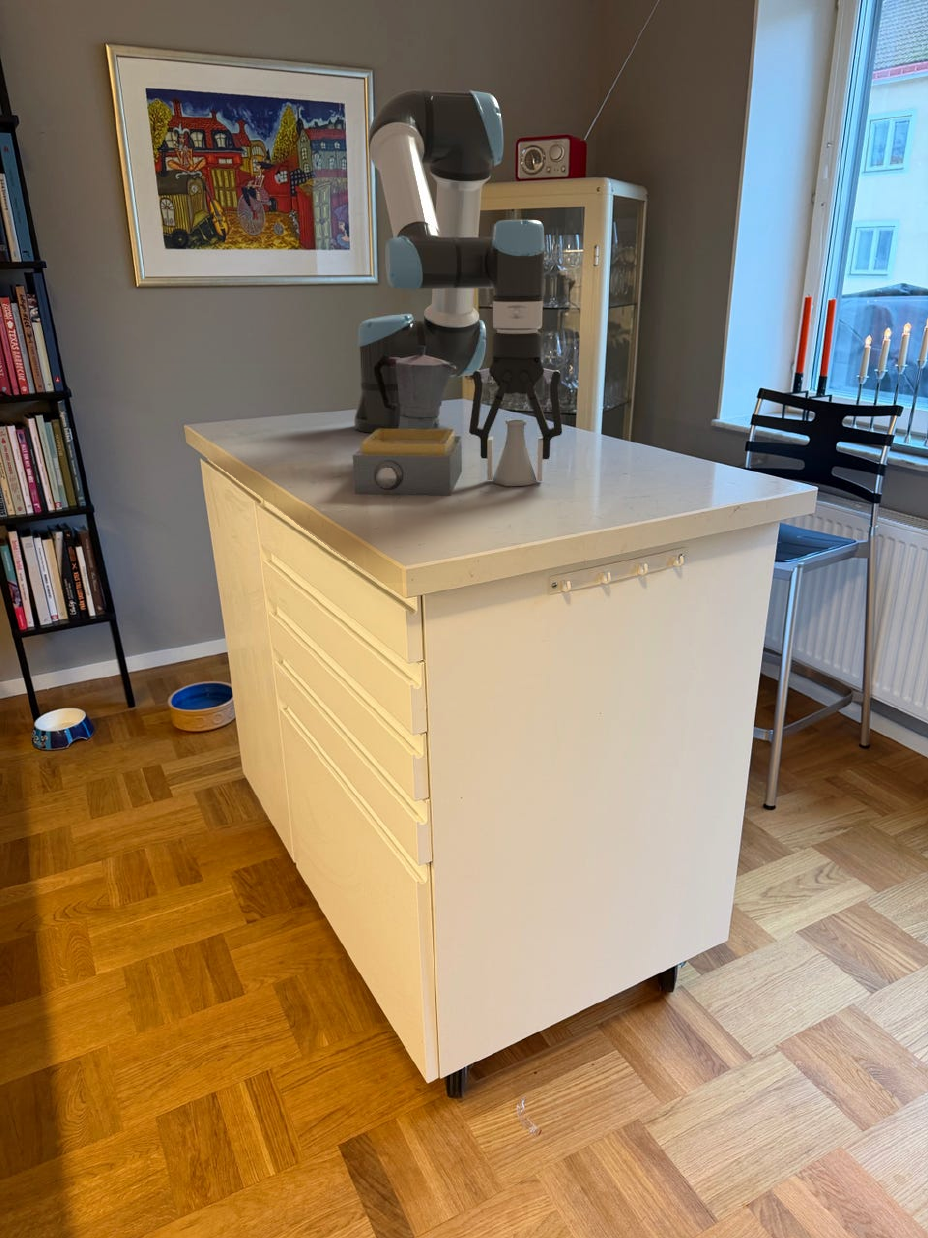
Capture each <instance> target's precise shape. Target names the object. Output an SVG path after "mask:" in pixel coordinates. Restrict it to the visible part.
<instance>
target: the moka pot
mask: <svg viewBox="0 0 928 1238" xmlns="http://www.w3.org/2000/svg"><path fill="white" fill-rule="evenodd" d="M425 349H426V347H425V346H423V345H420V346H417V350H418V355H416V356H411V357H406V358H398V357H389V356H386V355H383V357H382V358H380V361H378V362H377V364H376V365H375V366H374V374H375V377H376V381H377V383H378V386H379V389H380V393H381V397H382V399H383V403H384V407H386V408H389V409H394V410H395V409H396V408H397V405H396V404H391V403H390V402H389V399H388V397H387V395H386V389H385V385H384V381H383V377H382V374H381V372H380V369H381V367H382V366H387V367H389V368H395V369H396V373H397V383H398V393H399V402H400V414H401V416H400V422H399V428H398V429H441V428H440V427H441V426H440V425H441V424H440V418H439V416H440V414H441V413H440V412H441V411H440V410H441V406H442V403H443V396H444V390H445V389H446V386H447V385H448V382H449V380H450V378H451V377H450V376H451V374H452V372H453V370H454V369H456V367H455V365H453V364H452V363H449V362H446V361H444V360H441V359H437V358H433V357H430V356H426V355H424V354H425Z"/></svg>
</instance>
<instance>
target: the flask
mask: <svg viewBox="0 0 928 1238" xmlns="http://www.w3.org/2000/svg"><path fill="white" fill-rule="evenodd" d="M505 424H506V426H507V427H506V429H507V430H506V431H507V434H506V437H505V438H506V439H505V443H504V447H503V450H502V453H501V456H500V458H499V461H498V465H497V466H496V469H495V470H494V471H495V472H494V473H493V478H492V480H493V482H494V483H495V484H497V485H502V486H505V487H520V486H522V487H524V486H529V485H533V484H538V481H537V476H536V474H535V471H534V468H533V465H532V462H531V459H530V455H529V453H528V452H529V451H528V448H527V445H526V439H525V426H526V424H527V421H526V420H525V419H519V418H517V419H515V418H512V419H506V420H505Z"/></svg>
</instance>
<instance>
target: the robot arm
mask: <svg viewBox="0 0 928 1238" xmlns="http://www.w3.org/2000/svg"><path fill="white" fill-rule="evenodd" d="M503 128H504V127H503V120H502V116H501V110H500V106H499V104H498V101H497V99H496V98H495V97H494V95H492V93H489V92H483V91H476V90H475V91H474V90H471V89H467V90H465V89H464V90H461V89H455V90H454V89H420V88H418V89H417V88H413V89H409V90H403V91H402V92H399V93H397V94H395V95H394V96H392V97H391V98H390V99H388V100H387V101H386V102H385V103H384V104H383V105H382V106H381V107H380V109H378V111H377V113H376V115H375V116H374V118H373V120H372V123H371V125H370V128H369V132H368V133H369V134H368V151H369V155H370V160H371V163H372V164H373V166H374V167H375V168H376V170H377V171H378V172H379V175H380V180H381V185H382V188H383V189H382V190H383V194H384V199H385V203H386V207H387V208H386V209H387V213H388V217H389V223H390V226H391V230H392V231H391V232H392V236H393V237H390V238H388V239H387V241H386V244H385V252H384V253H385V255H384V257H385V258H384V260H385V261H384V262H385V270H386V271H385V272H386V280H387V283H388V284H389V286H390V287H391V288H394V289H401V290H402V289H403V290H404V289H405V290H411V291H416V290H417V291H418V290H432V292H431V294H432V295H431V296H432V297H431V304H430V305H429V306H427V307H426V308H425V309H424V312H423V320H415V319H414V317H413V314H411V313H402V314H401V313H400V314H391V315H386V316H378V317H374V318H370V319H365V320H363V321H362V322H361V323H360V324H359V327H358V343H357V347H358V352H359V353H358V354H359V376H360V379H359V380H360V381H359V382H360V396H359V399H358V404H357V407H356V409H355V410H356V411H355V415H354V417H353V418H354V419H353V420H354V429H355V430H357V431H359V432H363V433H371V434H372V433H373V432H374V431H376V430H377V429H398V428H399V422H400V416H401V414H400V402H399V393H398V383H397V373H396V369H395V368H389V367H387V366H382V367H381V369H380V372H381V374H382V377H383V381H384V385H385V389H386V395H387V397H388V399H389V402H390V403H391V404H396V405H397V408H396V409H395V410H394V409H389V408H386V407H384V403H383V399H382V397H381V393H380V389H379V386H378V383H377V381H376V377H375V374H374V366H375V365H376V364H377V362H378V361H380V358H382V357H383V355H386V356H389V357H398V358H406V357H411V356H416V355H418V350H417V346H420V345H423V346H425V347H426V349H425V354H424V355H426V356H430V357H433V358H437V359H441V360H444V361H446V362H449V363H452V364H453V365H455V367H456V369H454V370H453V372H452V374H451V376H450V378H451V377H453V378H454V377H455V378H459V377H466V376H472V378H473V384H474V390H473V398H472V407H471V413H470V414H471V415H470V420H469V430H468V431H469V434H470V435H473V436H475V437H478V438H479V440H480V458H481V459H486V460H487V461H486V462H487V463H486V465H487V467H486V468H487V470H486V473H487V474H486V478H487V479H486V480H487V481H492V480H493V477H494V436H490V431H491V429H492V427H493V424H494V421H495V419H496V417H497V414H498V412H499V409H500V406H501V404H502V402H503V399H504V397H505V395H512V394H515V393H516V394H520V395H526V396H527V398H528V400H529V403H530V406H531V408H532V411H533V413H534V417H535V418H536V421H537V425H538V427H539V431H540V433H541V435H542V436H541V437H540V436H539V437H538V439H537V472H536V473H537V474H536V480H537V482H542V481H543V461H544V460H549V459H550V457H551V440H552V439H553V438H556V437H557V436H558V437H559V436H561V435H562V433H563V427H562V416H561V407H560V406H561V405H560V398H559V388H558V387H559V383H560V377H561V372H560V370H558V369H554V370H552V369H549V368H545V367H544V364H543V362H542V346H543V345H542V338H543V337H542V336H543V335H542V334H541V332H539V329H541V328H542V327H543V307H544V306H543V303H544V301H543V294H544V293H543V291H544V268H545V267H544V262H545V250H546V244H545V228H544V225H543V223H542V222H541V221H540V220H537V219H502V220H499V221H496V223H494V226H493V234H492V236H482V237H481V236H479V233H480V232H479V231H480V216H481V203H482V192H483V190H482V189H483V185H484V184H485V183H486V182H488V181H489V180H490V178H491V174H492V168H493V167H492V166H494V167H496V166H498V165H499V164H500V163H502V159H503V154H504V132H503V131H504V129H503ZM424 164H429V174H430V175H431V176H432V177H433V179H434V180H435V181H436V199H435V201H436V204H435V207H434V203H433V199H432V194H431V190H430V187H429V183H428V180H427V175H426V169H425V168H424ZM475 289H492V291H493V292H492V294H493V295H492V296H493V297H492V298H493V299H492V328H493V329H495V332H494V333H493V334H492V360H491V361H492V362H491V364H490V366H489V368H484V369H480V368H481V367H482V366H483V363H484V358H485V355H486V348H487V347H486V346H487V342H486V341H487V340H486V338H487V329H486V325H485V322H484V321H483V320H482V319H480V313H479V312H478V311H477V310H476V308H474V295H475ZM489 376H490V377H491V378H492V379H493V381H494V382H495V384H496V385H497V387H498V389H497V391H496V393H495V396H494V399H493V402H492V405H491V406H490V409H489V411H488V414H487V417H486V420H485V422H484V424H483V427H480V426H479V425H480V424H479V423H480V415H481V408H482V402H483V394H484V386H485V385H484V384H486V383H487V382H488V377H489ZM542 377H544V378H545V383H546V384H547V385H549V394H550V402H551V412H552V414H551V415H552V422H553V423H552V425H553V427H549V423H548V422H547V419H546V416H545V414H544V411H543V408H542V405H541V403H540V400H539V396H538V393H537V391H536V388H535V386H536V384H537V383H538V382H539V380H540V379H541V378H542Z"/></svg>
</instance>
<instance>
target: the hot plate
mask: <svg viewBox="0 0 928 1238" xmlns="http://www.w3.org/2000/svg"><path fill="white" fill-rule="evenodd" d="M462 439H463V437H462V435H460V436H459V435H458V436H457V435H456V436H455V429H449V428H447V429H446V428H445V429H444V428H443V429H441V428H440V429H377V430H376V431H374V432H373V433H371V434H369V436H367V437H366V438H365V439H364V440H363V441H362V442H361V447H360V448H359V449H358V450H357V451H355V452H354V453H353V454H352V469H353V482H354V483H353V485H354V486H353V487H354V494H355V495H356V494H357V495H361V494H363V495H401V496H402V495H404V496H406V495H407V496H409V495H411V496H412V495H413V496H415V495H416V496H451V495H452V493H453V491H454V488H455V486H456V484H457V482H458V480H459V478H460V476H461V474H462V471H463V460H462V457H463V456H462V454H463V452H462V451H463V450H462V445H463V442H462Z"/></svg>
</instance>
